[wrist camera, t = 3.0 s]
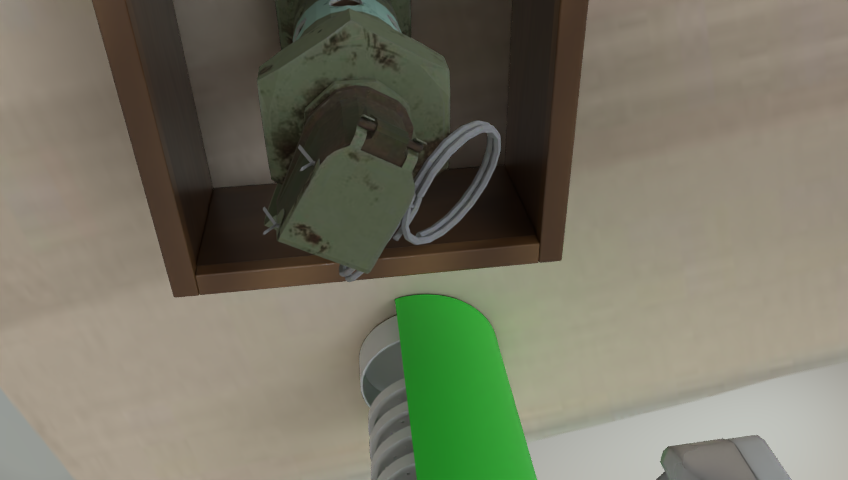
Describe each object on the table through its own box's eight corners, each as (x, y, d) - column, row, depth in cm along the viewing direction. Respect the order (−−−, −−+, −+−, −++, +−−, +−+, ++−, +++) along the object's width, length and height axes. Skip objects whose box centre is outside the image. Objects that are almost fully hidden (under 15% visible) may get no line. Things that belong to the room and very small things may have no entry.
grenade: (237, 62, 31) (187, 268, 18) (302, -88, 28) (293, 37, 16) (389, 131, 34) (434, 350, 21) (463, 0, 31) (565, 167, 18)
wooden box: (544, -191, 27) (607, -176, 21) (521, 178, 36) (562, 261, 30) (108, -176, 26) (48, -155, 20) (197, 206, 34) (173, 298, 29)
